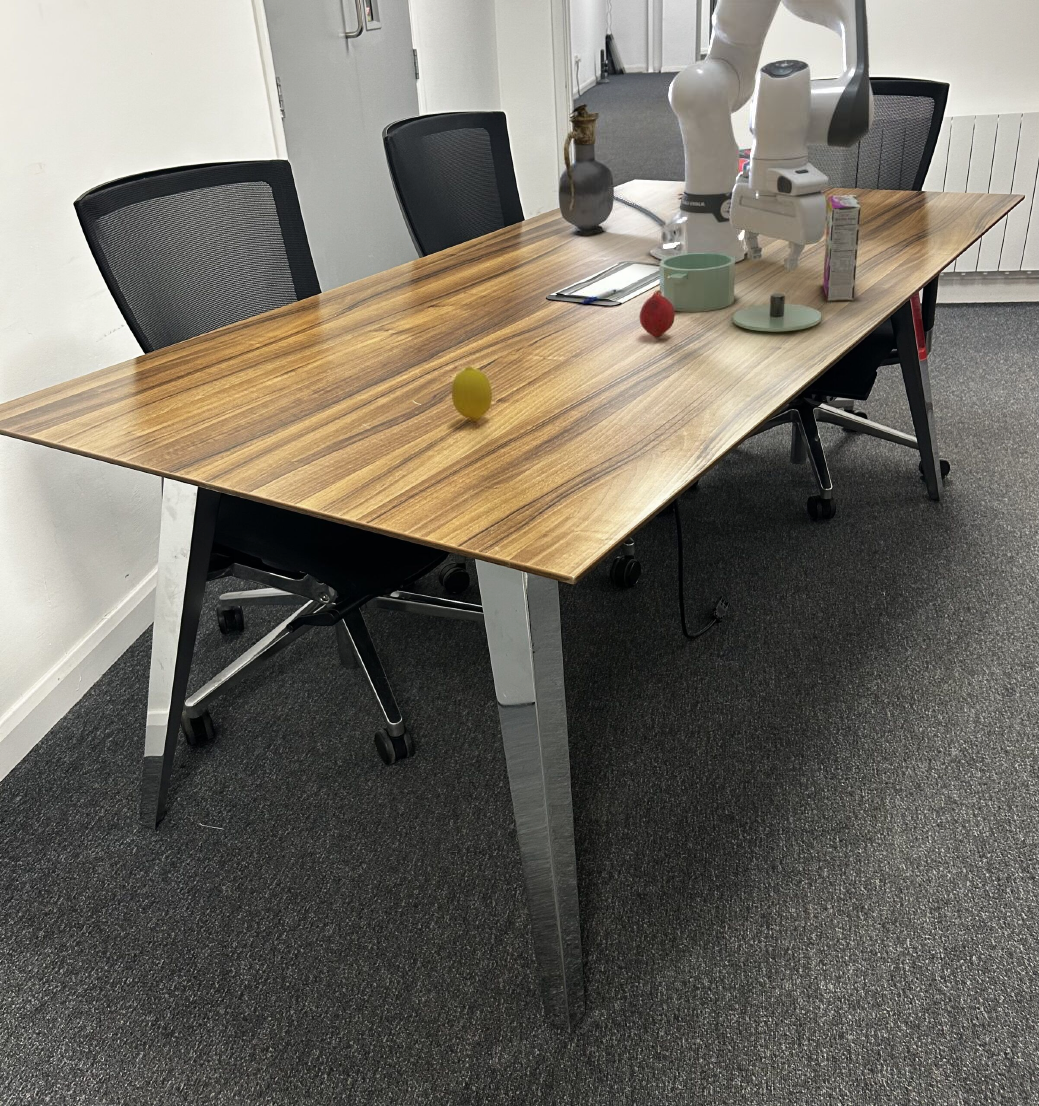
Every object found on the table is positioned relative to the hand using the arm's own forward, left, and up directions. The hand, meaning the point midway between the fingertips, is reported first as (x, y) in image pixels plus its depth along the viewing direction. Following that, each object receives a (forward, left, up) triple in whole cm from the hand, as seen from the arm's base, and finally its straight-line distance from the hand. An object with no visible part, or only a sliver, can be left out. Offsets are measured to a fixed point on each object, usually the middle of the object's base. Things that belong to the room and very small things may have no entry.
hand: (771, 263), depth 160 cm
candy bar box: (-6, +21, -10) cm, 24 cm away
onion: (-5, -19, -10) cm, 22 cm away
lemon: (+11, -60, -10) cm, 62 cm away
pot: (-19, -1, -10) cm, 22 cm away
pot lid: (+1, +1, -9) cm, 9 cm away
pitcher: (-91, +16, -10) cm, 93 cm away
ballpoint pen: (-35, -13, -10) cm, 39 cm away
